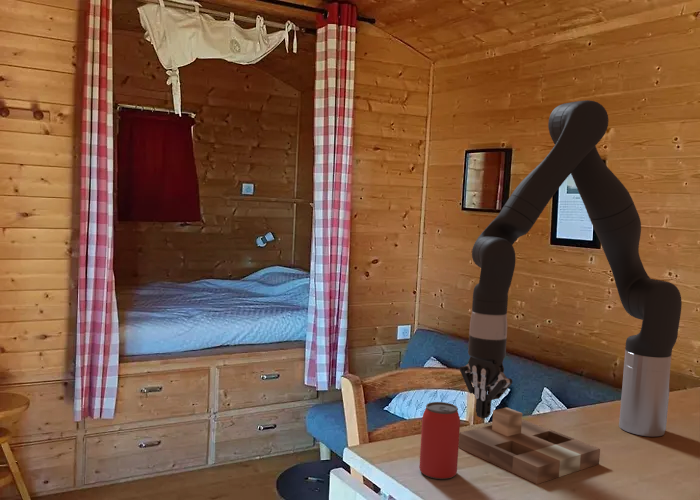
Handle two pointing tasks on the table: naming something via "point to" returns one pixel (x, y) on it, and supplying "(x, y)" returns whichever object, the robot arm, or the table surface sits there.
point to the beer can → (439, 440)
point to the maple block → (507, 421)
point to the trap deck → (531, 451)
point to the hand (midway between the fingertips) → (482, 416)
